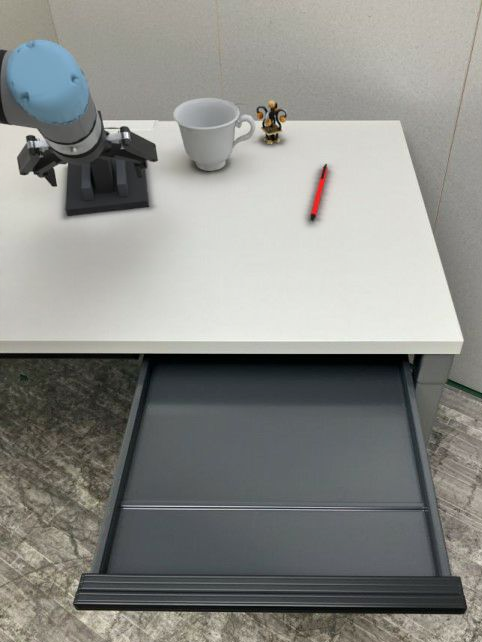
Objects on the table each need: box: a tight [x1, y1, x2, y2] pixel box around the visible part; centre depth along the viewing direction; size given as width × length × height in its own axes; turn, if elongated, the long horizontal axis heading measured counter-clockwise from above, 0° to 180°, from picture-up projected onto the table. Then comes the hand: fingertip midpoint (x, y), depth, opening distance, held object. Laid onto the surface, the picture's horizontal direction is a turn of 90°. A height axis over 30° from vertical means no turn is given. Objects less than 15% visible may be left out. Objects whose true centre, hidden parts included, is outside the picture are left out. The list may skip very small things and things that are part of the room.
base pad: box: [65, 158, 150, 217], centre depth 107 cm, size 14×16×4 cm
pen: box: [310, 163, 329, 223], centre depth 107 cm, size 1×19×1 cm, turn 170°
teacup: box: [172, 97, 256, 172], centre depth 110 cm, size 12×15×10 cm
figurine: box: [255, 100, 288, 145], centre depth 117 cm, size 5×5×8 cm
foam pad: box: [90, 110, 115, 194], centre depth 103 cm, size 3×8×11 cm, turn 12°
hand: (96, 173), depth 96 cm, fingers open, 13 cm apart
